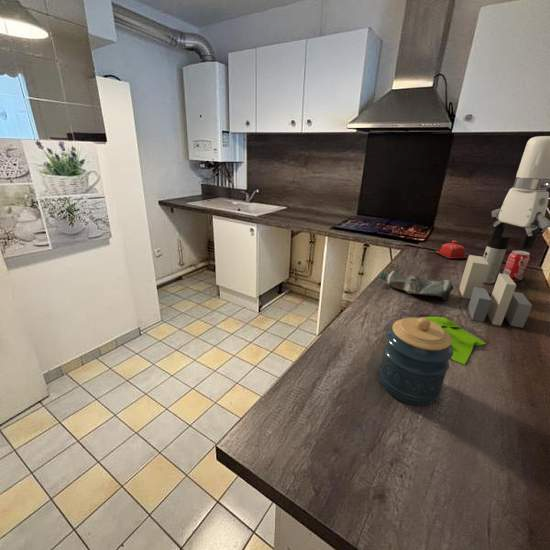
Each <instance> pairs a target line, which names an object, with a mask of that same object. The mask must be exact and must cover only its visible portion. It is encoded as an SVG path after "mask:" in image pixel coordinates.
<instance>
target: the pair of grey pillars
mask: <svg viewBox="0 0 550 550" xmlns="http://www.w3.org/2000/svg"><path fill="white" fill-rule="evenodd" d="M490 298H491V296H490V294H489V293H488V291H487V289H486V288H483V287H482V288H478V287H474V289H473V292H472V295H471V299H469V302H468V306H467V310H468V313H469V315H470V319H471V321H475V322H480V323H484V322H485V320H486V317H487V315H488V314H487V311H488V308H489V306H490V303H491V299H490ZM532 307H533V305H532V303H531V302H530V301H529V299H528V298H527V297H526V295H524V293H523V292H517V291H514V293H513V295H512V298H511V301H510V303H509V306H508V309H507V311H506V314H505V317H504V318H506V320H507V322H508V324H509V325H510V326H511V327H517V328H520V329H521V328H522V329H523V328H524V326H525V324H526V322H527V320H528V317H529V315H530V313H531V309H532Z"/></svg>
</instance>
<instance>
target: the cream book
mask: <svg viewBox="0 0 550 550" xmlns="http://www.w3.org/2000/svg"><path fill="white" fill-rule="evenodd" d="M516 288H517V284H516V283H515V281H513V280H512V279H511V278H510V276H509V275H508V274H503V273H501V272H498V275H497V277H496V280H495V284H494V287H493V289H492V292H491V296H490V299H491V303H490V306H489V308H488V311H487V314H486V315H487V316H488V319H489V321H490V323H491V325H494V326H499V327H501V326H502V325H503V322H504V319H505V318H506V317H505V314H506V311H507V309H508V306H509V303H510V301H511V298H512V295H513V293H514V292H515V290H516Z"/></svg>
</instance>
